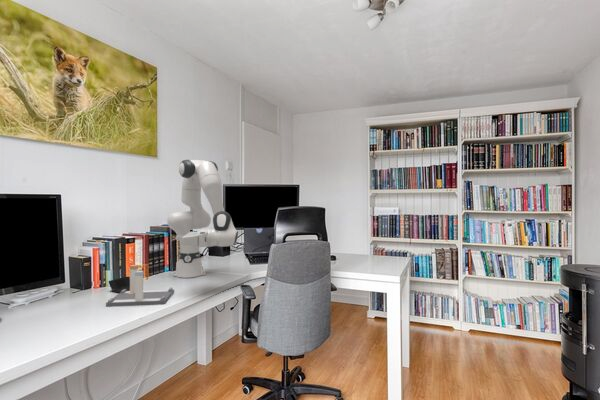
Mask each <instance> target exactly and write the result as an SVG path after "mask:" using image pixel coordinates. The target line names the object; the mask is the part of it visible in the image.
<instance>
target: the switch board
mask: <svg viewBox="0 0 600 400" xmlns="http://www.w3.org/2000/svg"><path fill="white" fill-rule="evenodd" d="M174 293H175V289H173V287H169V288H168V289H149V290H145V289H143V300H142V301H135V292H130V291H126V289H123V290H122V291H121V293H119V294H118V293H117V294H116V295H115V296H114V297H111V298H110V299H108V300H107V302H106V303H105V307H109V308H110V307H125V306H127V307H129V306H150V305H153V306H154V305H165V304H166V303H167V302H168V300H169V299H170V298H171V297H172V295H174Z"/></svg>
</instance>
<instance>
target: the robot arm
mask: <svg viewBox="0 0 600 400" xmlns="http://www.w3.org/2000/svg"><path fill="white" fill-rule="evenodd" d="M178 172H179V174H180V176H181V177H182V183H181V184H182V185H181V198H180V199H181V202H182V203H183V204H184V205H186V206H188V207H189V210H190V211H189V210H188V211H174V212H171V213H170V214H169V215H168V217H167V219H166V221H167V226H168V227H169V228H170V229H171V230H172V231H173V232H175V233H176V236H175V240H176V241H179V253H178V258H179V259H178V260H177V261H176V267H175V273H173V274H172V276H173V277H177V278H196V277H201V276H206V270H205V268H204V267H203V261H202V260H201V258H200V257H201V252H200V248H202V247H203V248H205V247H207V248H208V247H209V248H211V247H219V248H220V247H223V248H224V247H232V246H234V245H236V243H237V241H238V236H239V232H238V230H237V229H236V227H235V226H234V225H235V224H234V222H233V220H232V216H231V215H230V213H229V212H227V211H225V208H224V205H223V190H222V189H223V186H222V180H221V176H220V174H219V169H218V165H217V163H216V162H214V161H210V160H203V159H184V160H182V161H181V162H180V163H179V167H178ZM202 191H203V193H204V195H205V198H206V199H207V201H208V203H209V205H210V207H211V210H212V214H213V217H211V215H210V213H208V212H207V210H206V209H205V208H204V206H203V205H202ZM211 222H212V225H213V228H208V227H209V226H210V224H211ZM200 229H201V230H200ZM191 230H200V231H191Z"/></svg>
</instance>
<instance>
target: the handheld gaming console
mask: <svg viewBox="0 0 600 400" xmlns="http://www.w3.org/2000/svg"><path fill="white" fill-rule="evenodd" d="M108 285H109V287H110V289H111V291H112V292H111V293H114V294H117V295H118V294H119V293H121V291H122V290H123V289H126V291H130V276H124V277H121V278H116V279H111V280H108Z"/></svg>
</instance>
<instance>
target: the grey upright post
mask: <svg viewBox="0 0 600 400" xmlns="http://www.w3.org/2000/svg"><path fill="white" fill-rule="evenodd" d="M138 269H139V264H131V265H130V266H129V278H130V292H135V272H136V271H138Z"/></svg>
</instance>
